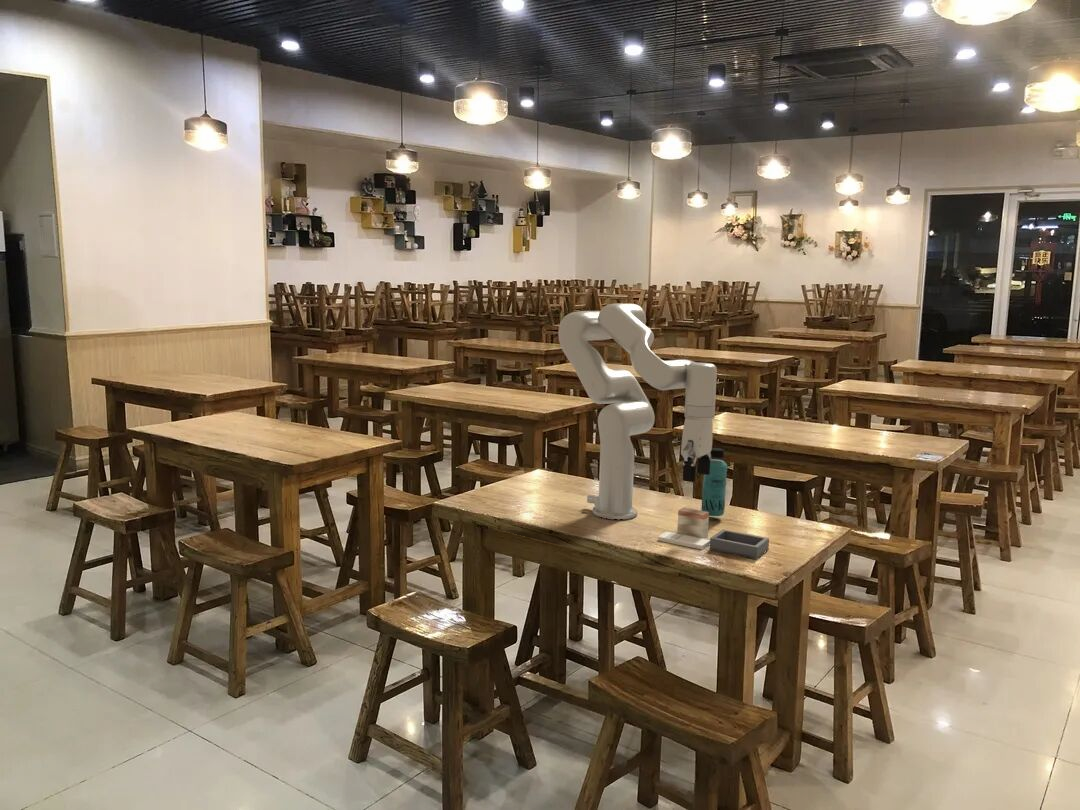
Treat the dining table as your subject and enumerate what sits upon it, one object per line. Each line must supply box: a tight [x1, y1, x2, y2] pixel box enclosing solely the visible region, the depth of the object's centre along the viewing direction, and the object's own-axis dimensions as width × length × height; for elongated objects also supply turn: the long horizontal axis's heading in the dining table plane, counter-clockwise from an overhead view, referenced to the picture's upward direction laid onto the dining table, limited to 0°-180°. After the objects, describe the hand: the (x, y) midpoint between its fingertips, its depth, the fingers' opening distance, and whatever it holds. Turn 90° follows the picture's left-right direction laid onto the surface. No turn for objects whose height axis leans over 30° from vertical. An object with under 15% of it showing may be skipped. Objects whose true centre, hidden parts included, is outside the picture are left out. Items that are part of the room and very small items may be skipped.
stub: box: [676, 507, 710, 539], centre depth 221 cm, size 7×4×7 cm, turn 58°
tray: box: [709, 529, 770, 560], centre depth 212 cm, size 12×9×3 cm
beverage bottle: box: [700, 447, 728, 517], centre depth 238 cm, size 6×7×20 cm
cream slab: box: [657, 530, 710, 550], centre depth 218 cm, size 12×6×1 cm, turn 58°
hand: (696, 477), depth 219 cm, fingers open, 9 cm apart
